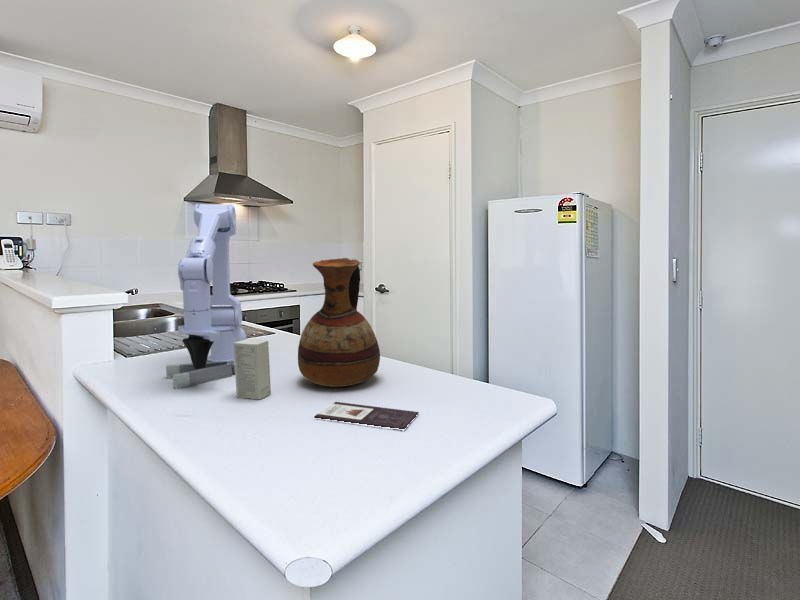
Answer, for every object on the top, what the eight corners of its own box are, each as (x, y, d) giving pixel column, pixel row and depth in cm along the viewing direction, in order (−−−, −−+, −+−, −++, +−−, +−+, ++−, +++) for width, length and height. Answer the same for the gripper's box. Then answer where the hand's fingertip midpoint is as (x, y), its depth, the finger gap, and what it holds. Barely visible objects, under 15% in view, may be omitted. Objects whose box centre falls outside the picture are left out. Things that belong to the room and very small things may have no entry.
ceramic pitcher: (284, 390, 106) (281, 258, 102) (315, 368, 126) (314, 256, 122) (368, 395, 102) (368, 259, 99) (386, 372, 122) (387, 257, 119)
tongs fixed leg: (241, 370, 122) (241, 358, 122) (242, 374, 119) (241, 361, 119) (167, 376, 116) (166, 363, 116) (165, 380, 113) (164, 366, 113)
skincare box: (271, 394, 103) (270, 340, 101) (259, 400, 99) (257, 344, 97) (247, 391, 105) (246, 338, 104) (234, 397, 101) (232, 342, 99)
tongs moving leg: (228, 374, 118) (228, 363, 118) (232, 376, 117) (231, 364, 117) (173, 387, 107) (173, 374, 107) (177, 388, 106) (176, 376, 106)
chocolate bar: (404, 428, 83) (314, 416, 88) (404, 433, 83) (314, 421, 88) (418, 412, 91) (335, 401, 97) (418, 416, 91) (335, 406, 97)
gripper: (164, 309, 108) (167, 366, 109) (197, 314, 99) (200, 376, 101) (193, 306, 114) (195, 360, 115) (227, 311, 105) (229, 370, 106)
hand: (199, 367), depth 108 cm, fingers closed
